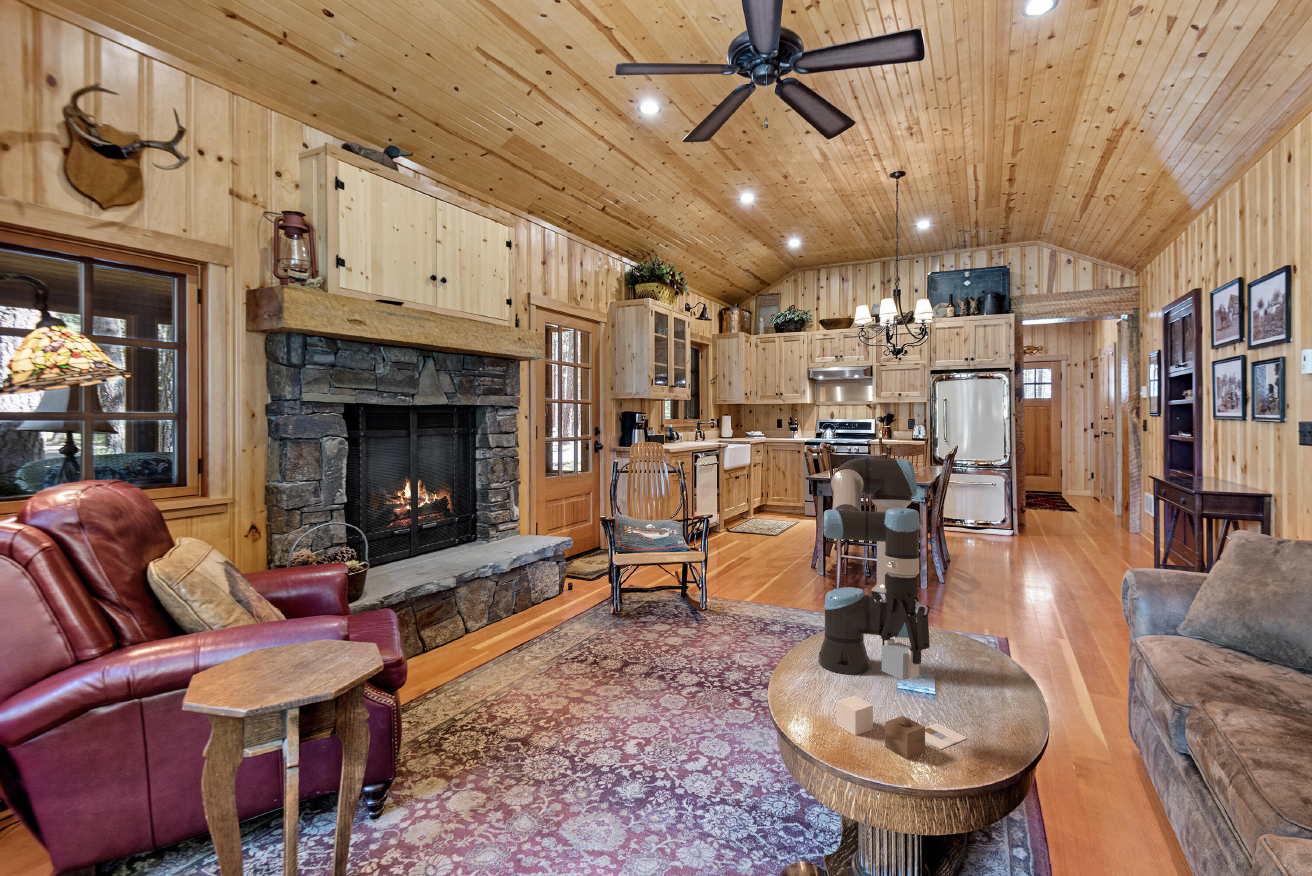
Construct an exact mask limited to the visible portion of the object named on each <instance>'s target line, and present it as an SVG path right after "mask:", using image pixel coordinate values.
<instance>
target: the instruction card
mask: <svg viewBox="0 0 1312 876" xmlns="http://www.w3.org/2000/svg"><path fill="white" fill-rule="evenodd" d="M924 727H925V744H926V743H927V744H929V745H931V747H934V748H936V749H938V750H939V751H941V750H943V749H946V748H948V747H951V746H952V745H955V744H958V743H959V742H962V741H965V740H967V739H968V737H967V736H964V735H962V734H961V733H958V732H956V731H954V730H952V729H950V728H948V727H946V726H944V725H942V724H940V723H938V722H936V723H933V724H931V725H928V726H924Z"/></svg>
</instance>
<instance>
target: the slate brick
mask: <svg viewBox="0 0 1312 876" xmlns="http://www.w3.org/2000/svg"><path fill="white" fill-rule="evenodd" d="M909 648H911V645H908V644H905V643H902V642H895V643H894V644H889V645H884V646H882V645H881V672H883V673H884V674H888V675H890V676H893V677H894V678H897V679H899V680H901V681H905V680H909V679H910V678H909V677H908V649H909ZM920 676H921V663H920V664H919V676H918V677H920Z"/></svg>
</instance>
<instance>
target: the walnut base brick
mask: <svg viewBox="0 0 1312 876" xmlns="http://www.w3.org/2000/svg"><path fill="white" fill-rule="evenodd" d="M884 724H885V726H884V727H885V729H884V731H885V732H884V733H885V734H884V735H885V738H884V747H885V748H886V749H887V750H889V751H891V752H893V753H895V754H897V755H898V756H900V757H902V758H903V759H905V760H907V761H908V760H911V759H913V758H916V757H917V756H920V755H923V754H925V753H926V742H925V727H926V726H924V725H922V724H920V723H918V722H916V721H915V720H913V719H910V718H908V717H907V716H905V715H901V716H898V717H895V718H892V719H889V720H887V721H885V723H884Z"/></svg>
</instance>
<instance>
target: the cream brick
mask: <svg viewBox="0 0 1312 876" xmlns="http://www.w3.org/2000/svg"><path fill="white" fill-rule="evenodd" d="M836 725H837V727H841V728H842V729H844V730H846V731H847V732H848V733H850V734H852V735H853V736H859V735H861V734H863V733H867V732H868V731H872V730H873V729H874V727H873V726H874V705H873V704H872V703H870V702H867V701H865V700H863V699H861V698H859V697H858V696H856V695H852V696H849V697H845V698H841V699H839V700H836Z"/></svg>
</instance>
